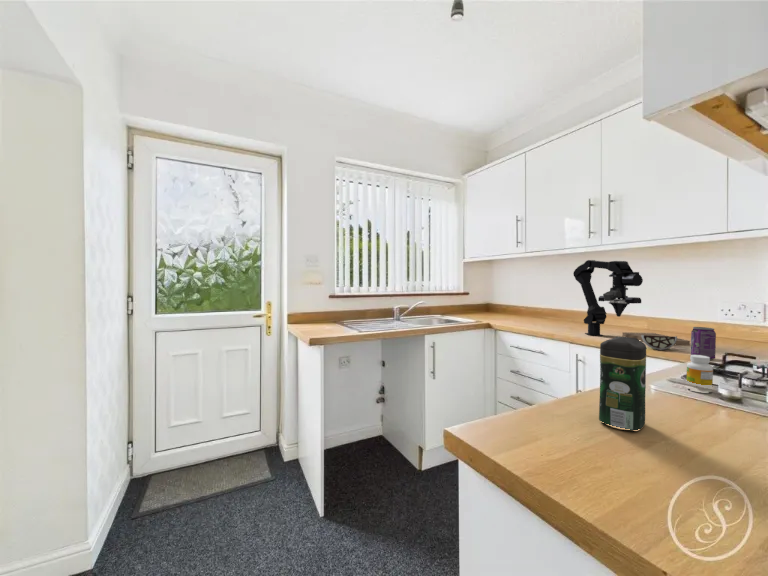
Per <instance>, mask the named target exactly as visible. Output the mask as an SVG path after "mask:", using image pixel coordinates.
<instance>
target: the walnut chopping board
mask: <svg viewBox="0 0 768 576" xmlns="http://www.w3.org/2000/svg"><path fill="white" fill-rule="evenodd" d="M641 335H649V336H666V335H665V334H660V333H656V332H627V331H625V332H622V336H621V337H624V336H625V337H629V338H636V339H638V340H641V342H643V339H642V336H641ZM675 344H676V345H675V346H691V340H687V339H683V338H680V337H679V338H678V337H677V340H676V343H675Z"/></svg>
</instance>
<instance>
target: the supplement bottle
mask: <svg viewBox="0 0 768 576" xmlns="http://www.w3.org/2000/svg"><path fill="white" fill-rule="evenodd" d="M689 360H690V362H687V364H686V380H687V381H689V382H692V383H696V384H701V385H712V384H713V383H714V382H713V380H714V379H713V378H714V367H713V366H712V365H711V364H709V363H710V362H711V360H710V357H707V356H702V355H691V354H690V359H689ZM686 380H685V381H686ZM713 385H714V384H713Z"/></svg>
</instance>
